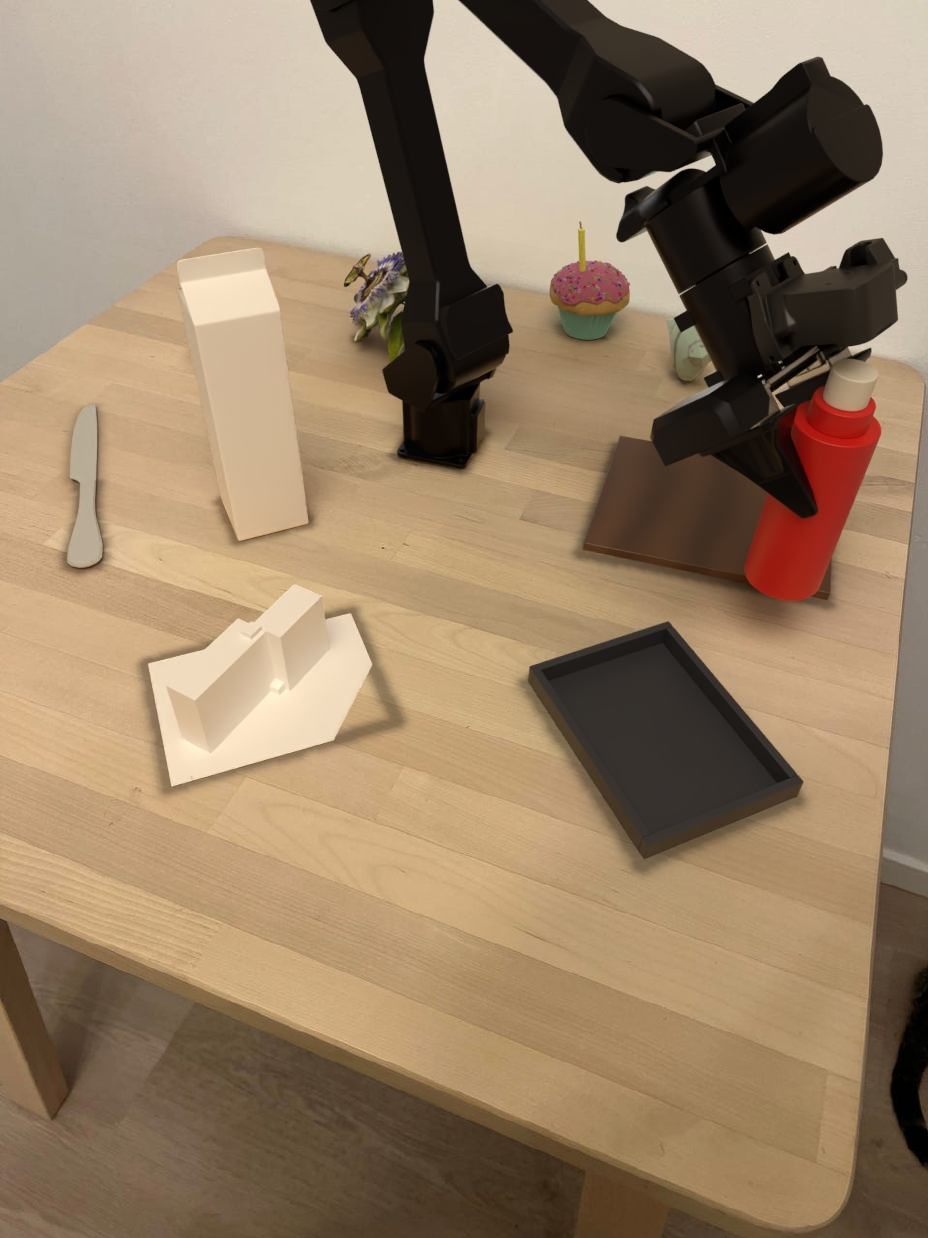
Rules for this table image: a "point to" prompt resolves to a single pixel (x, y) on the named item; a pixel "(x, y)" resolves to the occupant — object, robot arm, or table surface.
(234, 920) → the table surface
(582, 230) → the cupcake
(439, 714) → the table surface
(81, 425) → the butter knife
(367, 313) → the passion flower
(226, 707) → the white building model
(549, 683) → the baking tray
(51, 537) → the table surface
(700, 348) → the robot head
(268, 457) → the milk
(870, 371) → the ketchup
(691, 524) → the serving board
